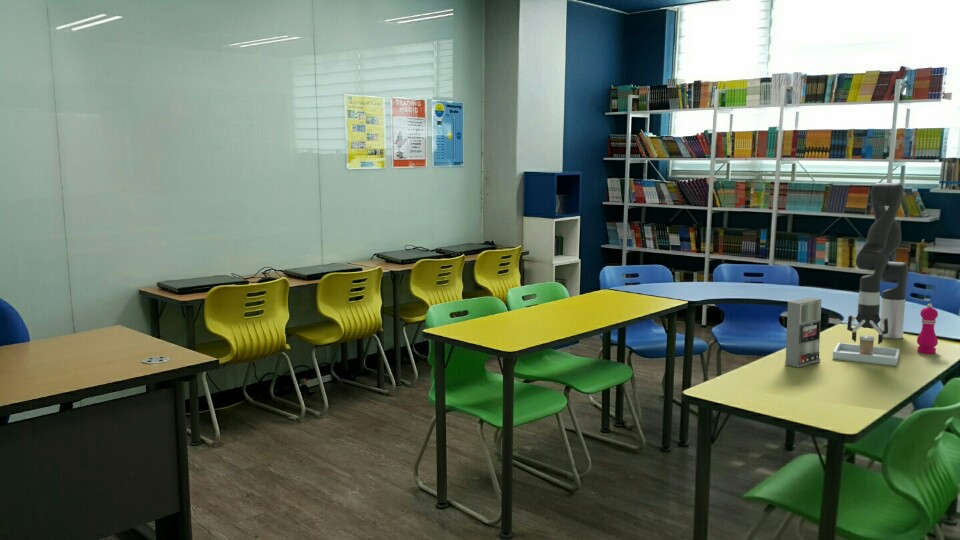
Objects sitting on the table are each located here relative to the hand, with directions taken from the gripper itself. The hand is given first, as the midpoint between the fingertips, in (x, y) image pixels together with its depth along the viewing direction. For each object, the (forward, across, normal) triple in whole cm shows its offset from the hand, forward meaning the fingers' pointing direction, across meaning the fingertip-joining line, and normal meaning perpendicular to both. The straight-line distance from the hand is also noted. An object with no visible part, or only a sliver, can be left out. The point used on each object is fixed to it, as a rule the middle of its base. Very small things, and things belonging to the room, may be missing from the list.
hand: (866, 342), depth 286 cm
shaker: (+6, 0, 0) cm, 6 cm away
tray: (+6, 0, 0) cm, 6 cm away
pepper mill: (+7, -20, -20) cm, 29 cm away
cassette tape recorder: (+6, +20, +20) cm, 29 cm away
